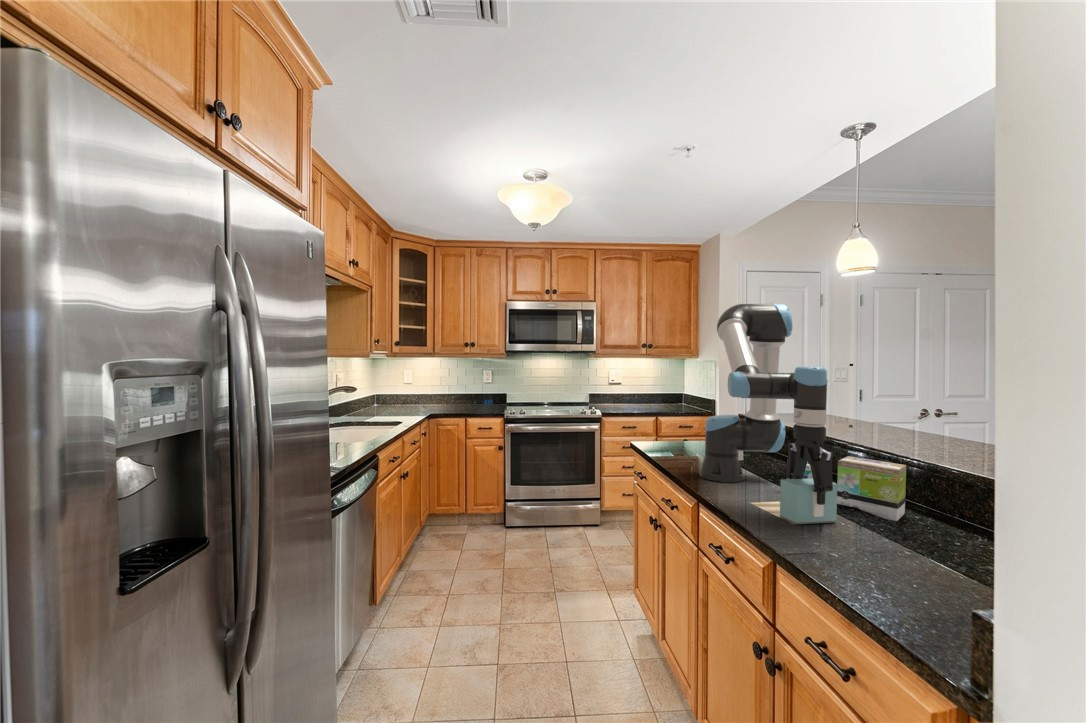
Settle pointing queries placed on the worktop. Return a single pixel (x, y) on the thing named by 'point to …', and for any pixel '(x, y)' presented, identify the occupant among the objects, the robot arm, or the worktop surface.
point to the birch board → (770, 508)
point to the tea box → (872, 486)
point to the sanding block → (805, 502)
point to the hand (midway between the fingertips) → (807, 511)
